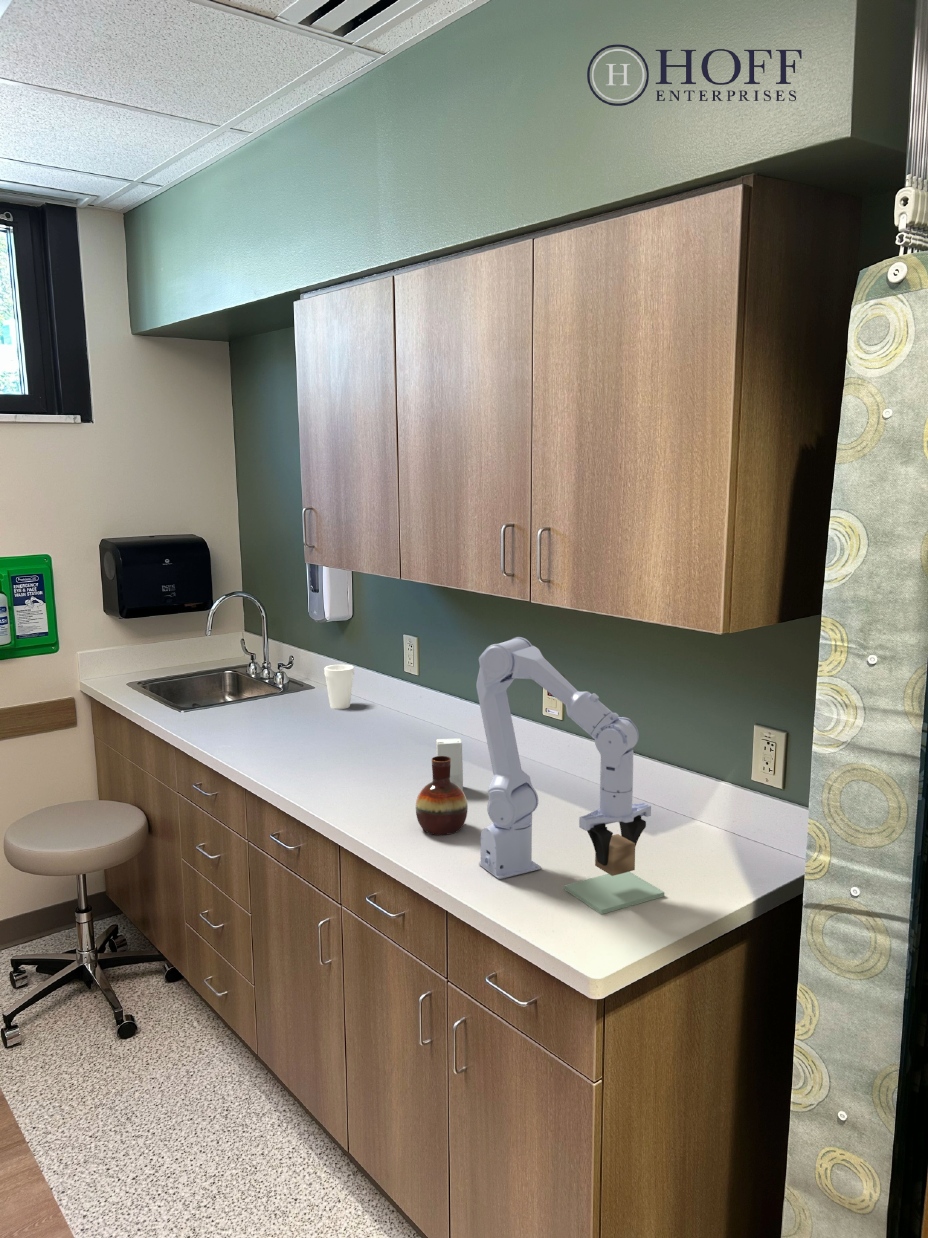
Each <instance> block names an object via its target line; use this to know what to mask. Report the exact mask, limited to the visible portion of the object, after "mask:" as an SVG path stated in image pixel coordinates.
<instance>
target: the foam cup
mask: <svg viewBox="0 0 928 1238" xmlns="http://www.w3.org/2000/svg"><path fill="white" fill-rule="evenodd" d="M323 670H324V672H323V673H324V675H323V676H325V682H326V688H327V695H328V702H329V706H330V709H334V710H343V709H348V708H350V706H351V701H352V700H351V699H352V692H353V691H352V690H353V681H354V675H355V667H354V665H350V664H332V665H326V666H325V667H324V668H323Z"/></svg>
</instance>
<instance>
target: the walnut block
mask: <svg viewBox="0 0 928 1238" xmlns="http://www.w3.org/2000/svg"><path fill="white" fill-rule="evenodd" d="M594 855H595V856H594V857H595V858H594V865H595V867H597V868H599V869H600V870H602V871H603V872H605V873H607V874H610V875H611V876H614V875H618V874H622V873H626V872H633V871H635V870H636V868H635V867H636V847H635V843H633V842H632V841H630V840H628V839H626V838H624V837H622V836H621V834H612V837H611V840H610V845H609V856H608V863H607V865H606V866H603V865H602V864H600V863H598V862H597V857H596V853H594Z"/></svg>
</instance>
